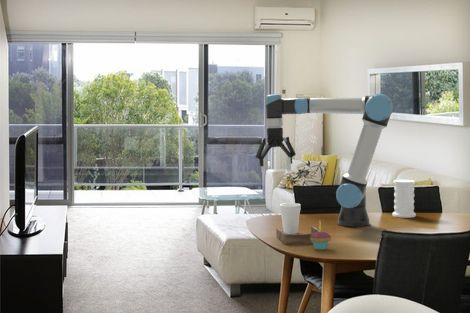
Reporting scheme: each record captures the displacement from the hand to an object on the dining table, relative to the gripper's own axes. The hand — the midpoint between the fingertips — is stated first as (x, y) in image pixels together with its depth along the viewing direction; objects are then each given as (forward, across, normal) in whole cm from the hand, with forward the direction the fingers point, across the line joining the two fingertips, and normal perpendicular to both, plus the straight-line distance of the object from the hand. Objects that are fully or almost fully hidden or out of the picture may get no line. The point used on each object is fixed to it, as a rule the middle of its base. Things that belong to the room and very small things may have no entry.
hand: (276, 172), depth 353 cm
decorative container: (+28, -70, +4) cm, 76 cm away
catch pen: (+27, +6, +32) cm, 42 cm away
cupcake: (+27, +7, +51) cm, 59 cm away
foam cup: (+27, +2, +17) cm, 31 cm away
